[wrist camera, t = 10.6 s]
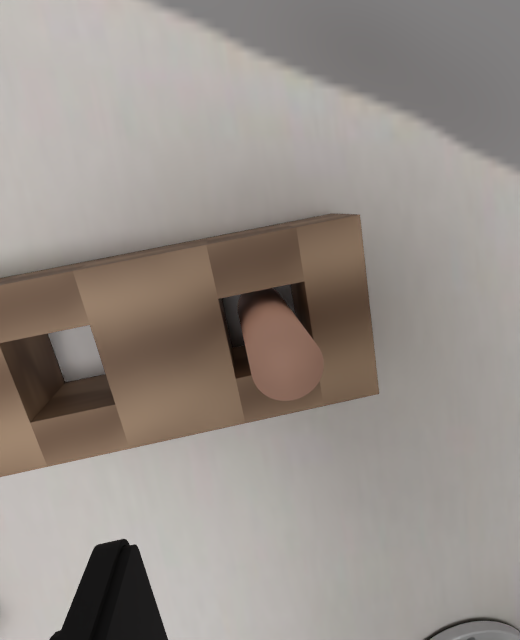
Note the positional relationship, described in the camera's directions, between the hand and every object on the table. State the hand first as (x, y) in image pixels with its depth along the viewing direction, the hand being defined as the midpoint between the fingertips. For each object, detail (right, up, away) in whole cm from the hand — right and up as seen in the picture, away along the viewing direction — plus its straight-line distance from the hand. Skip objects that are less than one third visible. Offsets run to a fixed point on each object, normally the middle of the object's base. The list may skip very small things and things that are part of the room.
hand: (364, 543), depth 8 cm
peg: (-2, +5, +17) cm, 18 cm away
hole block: (-8, +4, +17) cm, 19 cm away
